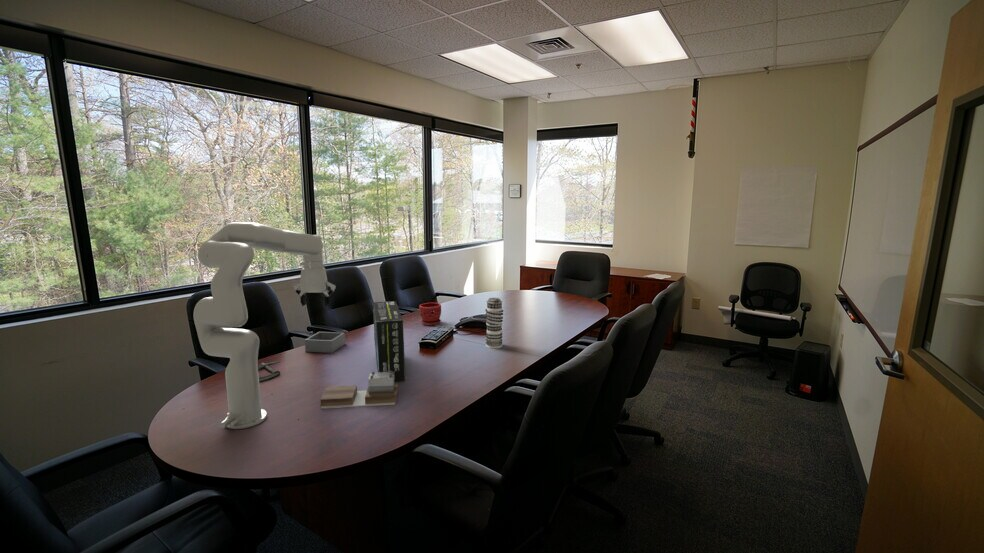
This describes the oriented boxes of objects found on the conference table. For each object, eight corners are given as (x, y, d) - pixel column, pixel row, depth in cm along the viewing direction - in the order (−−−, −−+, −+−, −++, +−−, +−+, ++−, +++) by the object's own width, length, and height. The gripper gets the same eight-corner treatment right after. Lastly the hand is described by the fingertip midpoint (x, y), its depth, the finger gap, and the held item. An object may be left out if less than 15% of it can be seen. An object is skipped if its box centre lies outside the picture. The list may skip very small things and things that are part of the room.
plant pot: (433, 319, 279) (433, 301, 277) (445, 324, 269) (445, 304, 267) (415, 323, 271) (415, 304, 269) (427, 327, 261) (426, 308, 259)
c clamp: (237, 371, 193) (236, 365, 192) (279, 362, 204) (279, 357, 203) (247, 386, 178) (247, 379, 177) (293, 376, 189) (292, 369, 188)
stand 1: (352, 404, 160) (352, 397, 160) (320, 406, 159) (320, 399, 158) (357, 391, 171) (356, 385, 171) (327, 393, 170) (327, 387, 169)
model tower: (497, 349, 223) (497, 301, 219) (481, 346, 227) (482, 299, 223) (506, 345, 230) (506, 298, 226) (491, 342, 235) (491, 296, 231)
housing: (393, 392, 164) (393, 376, 163) (368, 394, 163) (368, 377, 162) (394, 386, 170) (394, 370, 169) (370, 387, 169) (370, 371, 168)
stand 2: (396, 402, 163) (395, 395, 162) (365, 404, 161) (365, 397, 161) (398, 389, 173) (397, 383, 173) (369, 391, 172) (368, 385, 171)
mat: (397, 389, 174) (397, 388, 174) (395, 404, 162) (395, 403, 162) (328, 393, 171) (328, 392, 171) (320, 408, 158) (320, 407, 158)
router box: (374, 355, 213) (372, 301, 208) (397, 353, 216) (396, 300, 212) (378, 384, 179) (376, 320, 175) (406, 381, 182) (404, 318, 178)
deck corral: (332, 352, 216) (331, 341, 215) (305, 351, 218) (304, 339, 217) (345, 343, 230) (344, 332, 229) (319, 342, 231) (319, 331, 230)
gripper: (288, 266, 179) (291, 307, 182) (331, 266, 180) (333, 307, 183) (296, 263, 187) (298, 303, 190) (337, 263, 187) (339, 303, 190)
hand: (315, 305), depth 186 cm, fingers open, 9 cm apart
